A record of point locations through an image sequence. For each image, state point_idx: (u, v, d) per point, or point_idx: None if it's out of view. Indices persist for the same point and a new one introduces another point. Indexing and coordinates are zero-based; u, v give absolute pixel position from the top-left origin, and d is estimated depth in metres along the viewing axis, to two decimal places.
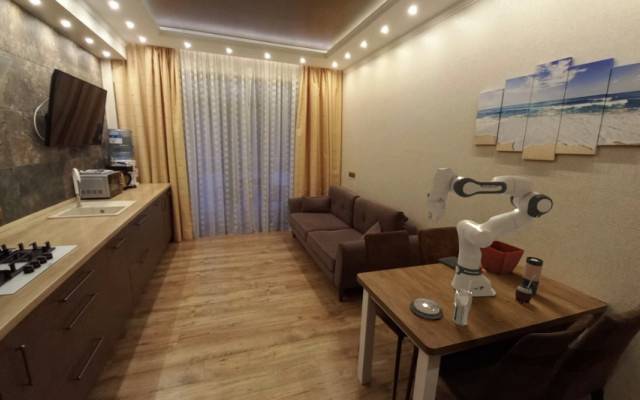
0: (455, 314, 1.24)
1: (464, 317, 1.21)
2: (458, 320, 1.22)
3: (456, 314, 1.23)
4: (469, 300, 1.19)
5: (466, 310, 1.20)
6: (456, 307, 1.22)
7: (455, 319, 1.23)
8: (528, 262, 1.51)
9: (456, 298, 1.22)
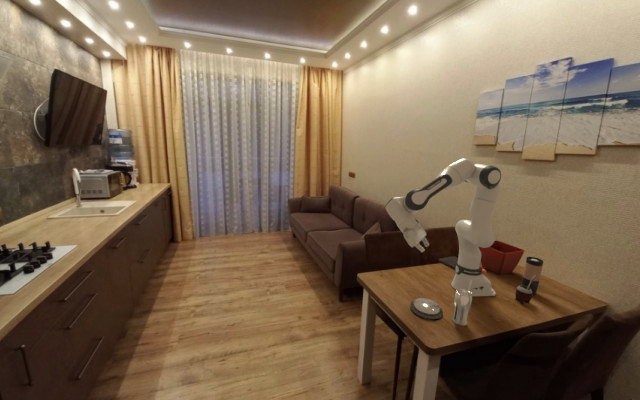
0: (455, 314, 1.24)
1: (464, 317, 1.21)
2: (458, 320, 1.22)
3: (456, 314, 1.23)
4: (469, 300, 1.19)
5: (466, 310, 1.20)
6: (456, 307, 1.22)
7: (455, 319, 1.23)
8: (528, 262, 1.51)
9: (456, 298, 1.22)
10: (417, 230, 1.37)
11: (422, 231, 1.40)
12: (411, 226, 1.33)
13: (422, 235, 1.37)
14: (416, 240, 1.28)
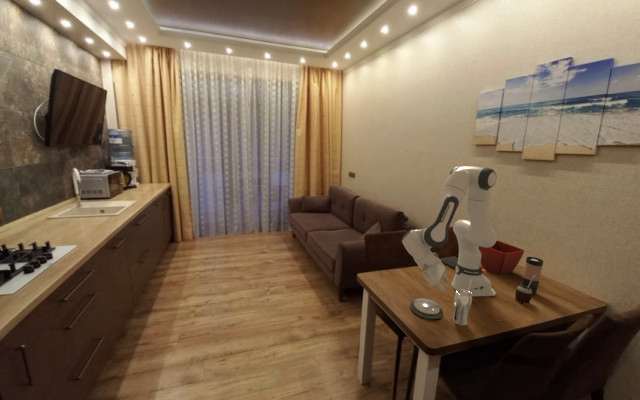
0: (455, 314, 1.24)
1: (464, 317, 1.21)
2: (458, 320, 1.22)
3: (456, 314, 1.23)
4: (469, 300, 1.19)
5: (466, 310, 1.20)
6: (456, 307, 1.22)
7: (455, 319, 1.23)
8: (528, 262, 1.51)
9: (456, 298, 1.22)
10: (436, 266, 1.29)
11: (441, 266, 1.32)
12: (430, 263, 1.25)
13: (442, 271, 1.29)
14: (436, 279, 1.20)
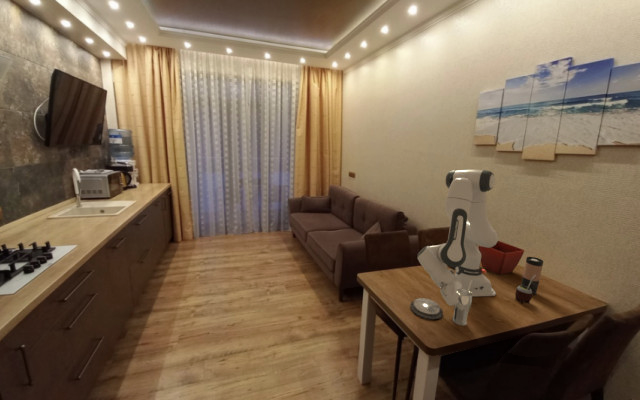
0: (455, 314, 1.24)
1: (464, 317, 1.21)
2: (458, 320, 1.22)
3: (456, 314, 1.23)
4: (469, 300, 1.19)
5: (466, 310, 1.20)
6: (456, 307, 1.22)
7: (455, 319, 1.23)
8: (528, 262, 1.51)
9: None
10: (453, 283, 1.26)
11: (458, 283, 1.29)
12: (448, 281, 1.22)
13: None
14: (455, 298, 1.17)
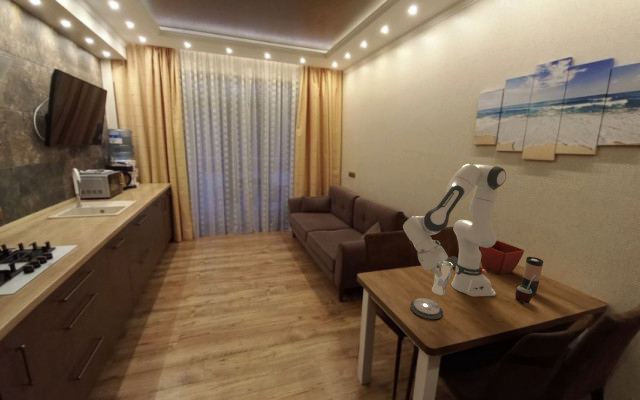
0: (434, 283, 1.26)
1: (442, 287, 1.23)
2: (436, 289, 1.25)
3: (435, 283, 1.25)
4: (448, 270, 1.21)
5: (444, 280, 1.22)
6: (435, 276, 1.25)
7: (433, 288, 1.26)
8: (528, 262, 1.51)
9: (436, 267, 1.24)
10: (436, 253, 1.28)
11: (443, 254, 1.31)
12: (428, 248, 1.25)
13: (441, 259, 1.27)
14: (431, 264, 1.20)
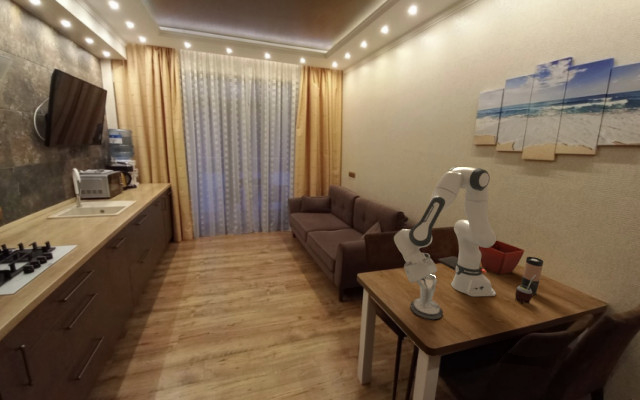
0: (420, 296, 1.32)
1: (427, 300, 1.29)
2: (422, 302, 1.30)
3: (421, 296, 1.31)
4: (431, 283, 1.26)
5: (428, 293, 1.27)
6: (420, 289, 1.30)
7: (420, 301, 1.32)
8: (528, 262, 1.51)
9: None
10: (424, 265, 1.34)
11: (432, 267, 1.35)
12: (415, 261, 1.31)
13: (429, 271, 1.32)
14: (417, 276, 1.26)
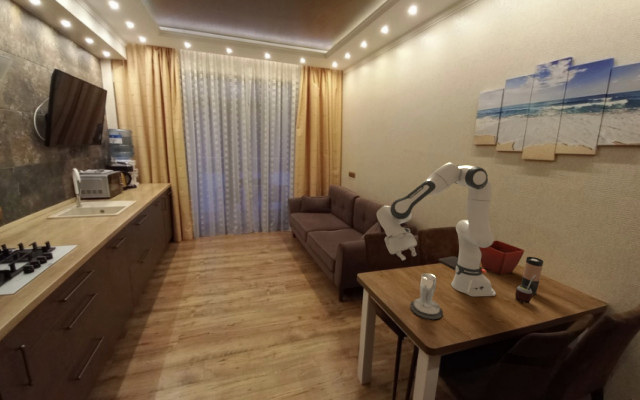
0: (420, 296, 1.32)
1: (427, 299, 1.29)
2: (422, 302, 1.30)
3: (421, 296, 1.31)
4: (431, 283, 1.26)
5: (428, 293, 1.27)
6: (420, 289, 1.30)
7: (420, 301, 1.32)
8: (528, 262, 1.51)
9: (421, 281, 1.30)
10: (404, 239, 1.41)
11: (411, 240, 1.43)
12: (395, 234, 1.38)
13: (409, 244, 1.40)
14: (396, 248, 1.34)
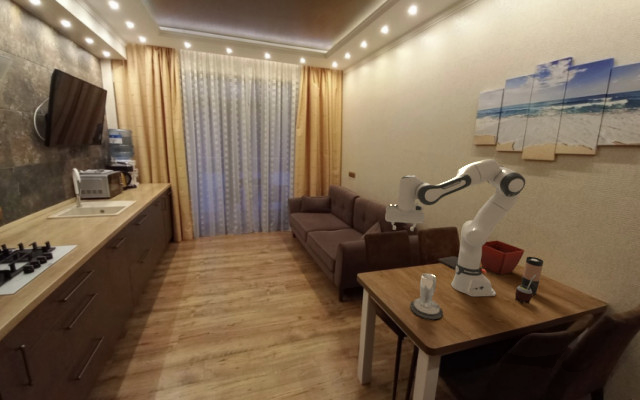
0: (420, 296, 1.32)
1: (427, 299, 1.29)
2: (422, 302, 1.30)
3: (421, 296, 1.31)
4: (431, 283, 1.26)
5: (428, 293, 1.28)
6: (420, 289, 1.30)
7: (420, 301, 1.32)
8: (528, 262, 1.51)
9: (420, 281, 1.30)
10: (410, 214, 1.43)
11: (417, 218, 1.43)
12: (399, 207, 1.42)
13: (410, 220, 1.44)
14: (390, 219, 1.44)
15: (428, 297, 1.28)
